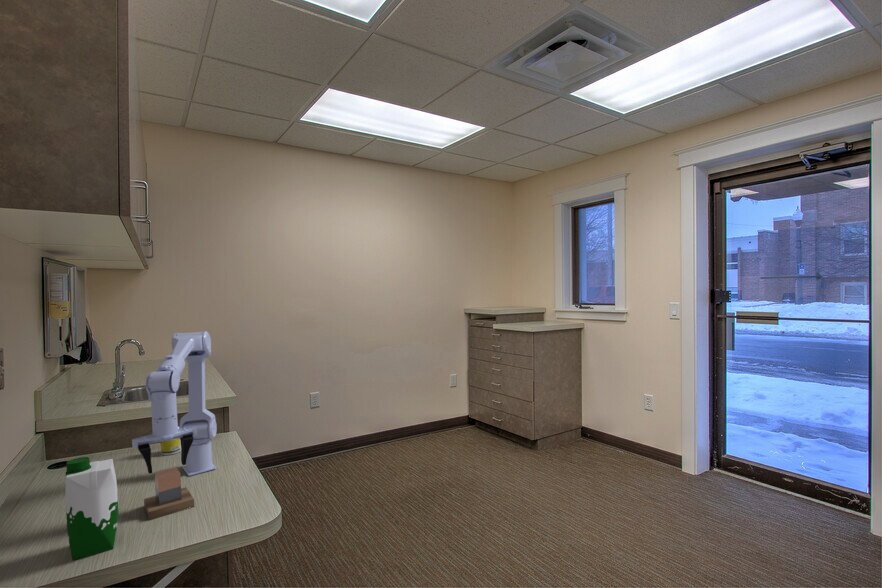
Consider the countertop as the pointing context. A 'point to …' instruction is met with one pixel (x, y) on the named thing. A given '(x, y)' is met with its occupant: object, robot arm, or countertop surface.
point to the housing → (168, 486)
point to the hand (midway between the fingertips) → (167, 468)
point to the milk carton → (91, 506)
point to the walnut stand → (168, 505)
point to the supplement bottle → (170, 446)
